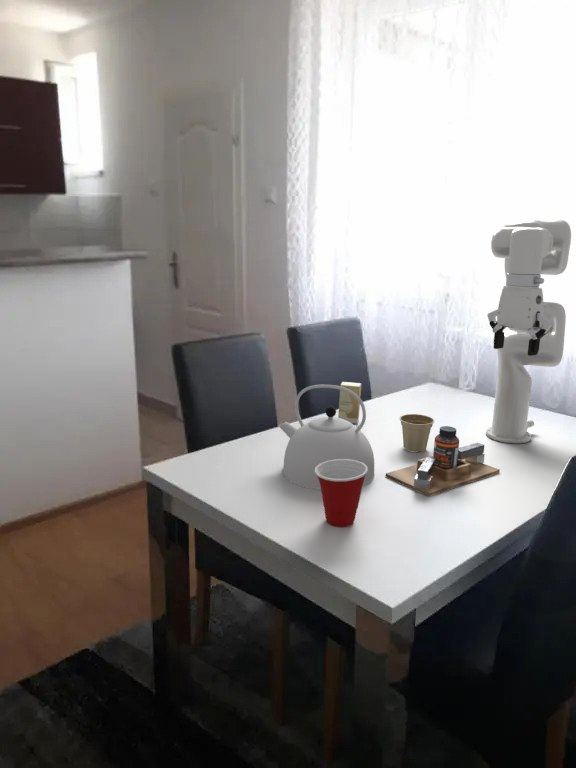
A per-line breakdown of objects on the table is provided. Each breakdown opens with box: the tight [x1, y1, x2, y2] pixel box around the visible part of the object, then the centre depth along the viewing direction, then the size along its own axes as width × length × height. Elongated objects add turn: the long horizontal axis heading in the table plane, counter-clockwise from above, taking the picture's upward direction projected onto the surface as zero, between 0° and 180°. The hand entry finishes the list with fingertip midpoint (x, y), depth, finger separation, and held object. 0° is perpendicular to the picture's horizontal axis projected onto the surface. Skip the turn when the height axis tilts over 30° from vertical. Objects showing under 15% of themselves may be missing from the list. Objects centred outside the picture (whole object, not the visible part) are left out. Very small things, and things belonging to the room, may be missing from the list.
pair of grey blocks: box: [414, 442, 485, 491], centre depth 153 cm, size 28×8×5 cm, turn 126°
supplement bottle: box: [432, 425, 460, 470], centre depth 154 cm, size 6×6×11 cm
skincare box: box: [337, 381, 362, 425], centre depth 195 cm, size 6×4×12 cm
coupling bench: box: [385, 455, 501, 497], centre depth 155 cm, size 26×14×3 cm, turn 126°
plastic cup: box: [315, 459, 368, 528], centre depth 128 cm, size 11×11×12 cm
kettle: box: [277, 384, 375, 491], centre depth 153 cm, size 25×23×23 cm
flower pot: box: [399, 413, 435, 453], centre depth 172 cm, size 9×9×9 cm
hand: (515, 351), depth 153 cm, fingers open, 9 cm apart
